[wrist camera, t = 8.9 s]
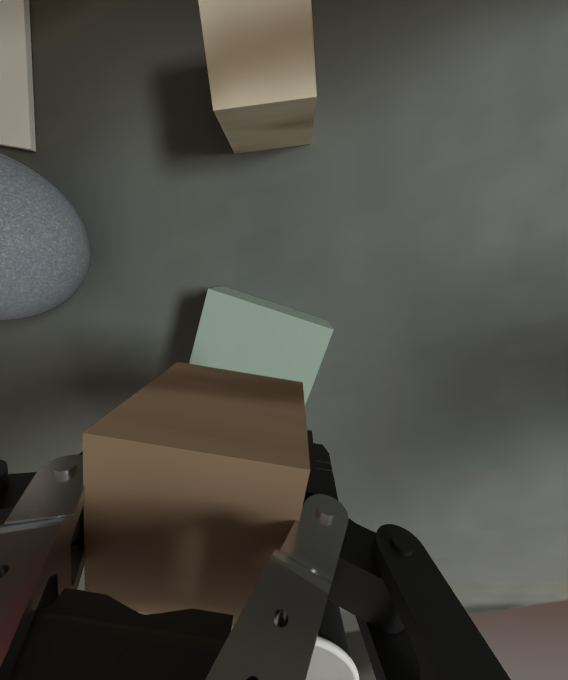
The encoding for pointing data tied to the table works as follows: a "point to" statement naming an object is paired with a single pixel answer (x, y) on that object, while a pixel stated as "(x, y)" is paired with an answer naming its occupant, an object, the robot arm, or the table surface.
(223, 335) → the sage green base block
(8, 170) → the decorative stone
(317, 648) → the dixie cup
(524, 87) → the table surface
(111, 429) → the walnut block
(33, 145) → the card
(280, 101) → the birch block
